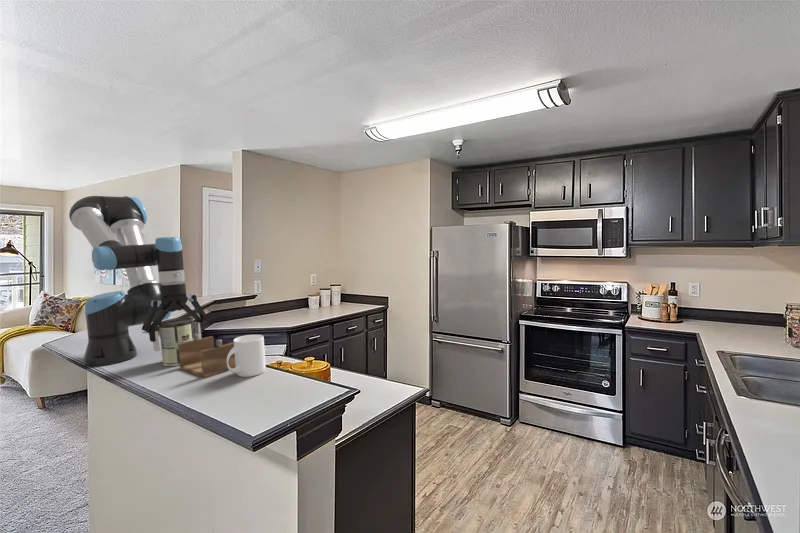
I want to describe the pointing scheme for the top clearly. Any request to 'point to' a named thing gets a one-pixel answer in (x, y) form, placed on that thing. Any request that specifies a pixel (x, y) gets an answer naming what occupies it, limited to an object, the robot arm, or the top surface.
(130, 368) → the top surface
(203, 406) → the top surface
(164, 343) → the coffee can
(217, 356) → the cradle
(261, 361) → the mug
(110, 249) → the robot arm
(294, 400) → the top surface
